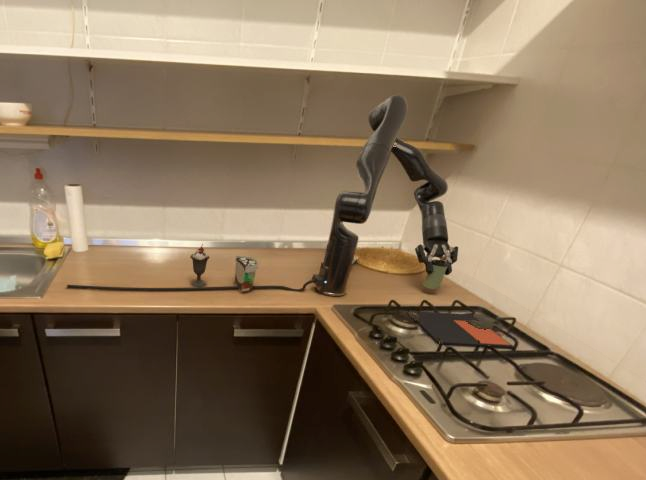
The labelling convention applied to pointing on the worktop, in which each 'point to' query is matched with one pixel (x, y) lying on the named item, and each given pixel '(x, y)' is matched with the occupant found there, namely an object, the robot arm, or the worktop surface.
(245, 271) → the food container
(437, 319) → the corner mat
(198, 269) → the sundae
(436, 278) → the tea tin
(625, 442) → the worktop surface
